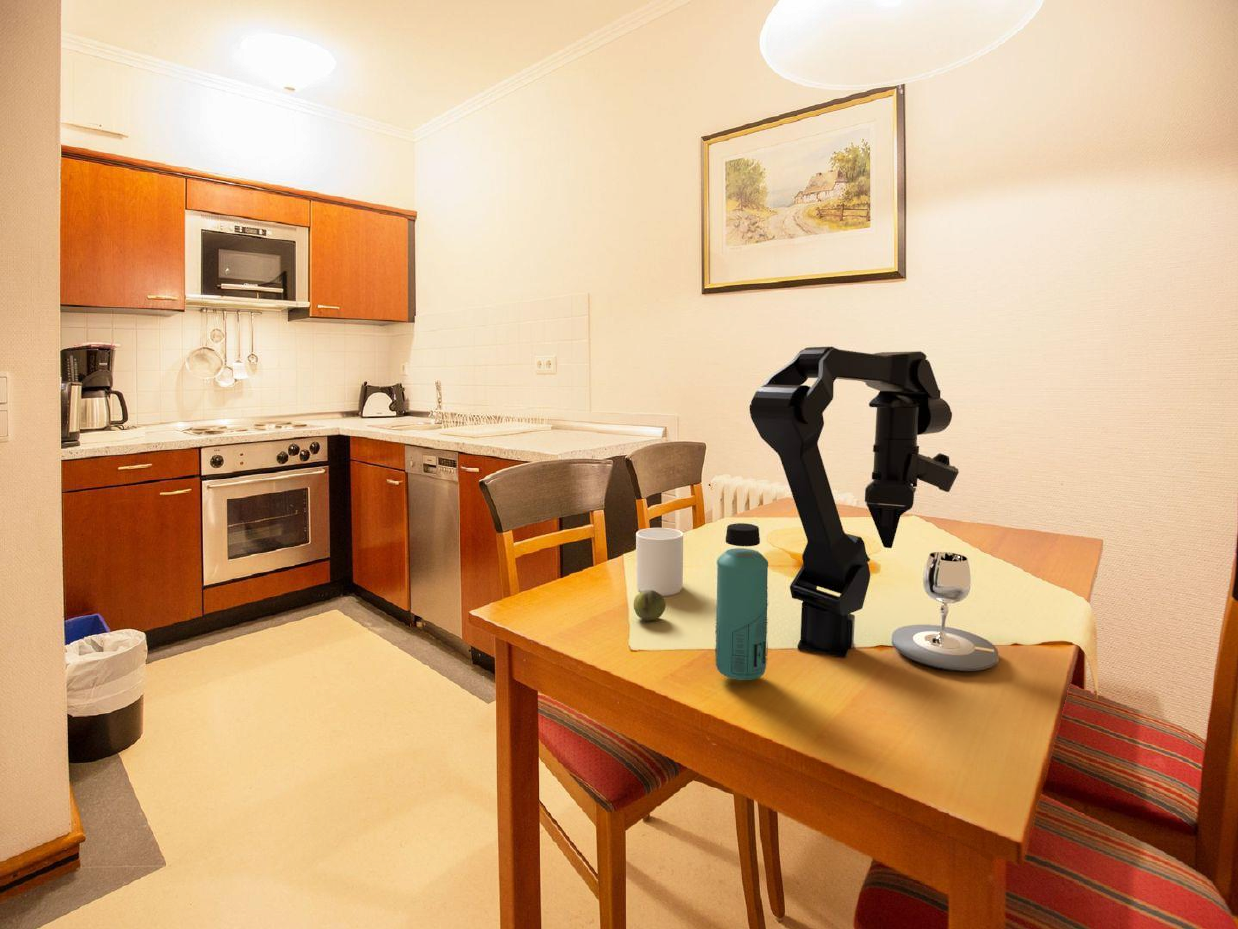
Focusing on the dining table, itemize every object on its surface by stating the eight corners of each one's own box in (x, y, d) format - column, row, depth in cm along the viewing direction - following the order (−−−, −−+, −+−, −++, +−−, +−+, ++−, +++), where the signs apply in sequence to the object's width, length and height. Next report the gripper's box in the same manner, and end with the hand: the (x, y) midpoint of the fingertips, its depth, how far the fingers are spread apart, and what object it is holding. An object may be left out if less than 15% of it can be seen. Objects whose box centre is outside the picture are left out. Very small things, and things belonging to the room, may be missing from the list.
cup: (634, 596, 112) (634, 538, 111) (639, 574, 124) (639, 522, 123) (682, 597, 111) (683, 540, 110) (682, 575, 123) (683, 523, 122)
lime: (629, 618, 102) (629, 588, 101) (655, 613, 104) (655, 583, 104) (644, 628, 98) (644, 596, 98) (670, 622, 101) (671, 591, 100)
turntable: (888, 658, 86) (888, 652, 86) (894, 624, 97) (895, 618, 97) (1002, 678, 80) (1002, 672, 80) (994, 639, 92) (994, 633, 92)
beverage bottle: (756, 697, 78) (760, 534, 75) (705, 683, 81) (707, 527, 78) (774, 675, 83) (778, 523, 80) (725, 663, 86) (728, 516, 84)
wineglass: (960, 654, 85) (967, 565, 83) (913, 642, 88) (919, 557, 87) (970, 640, 89) (977, 555, 87) (925, 629, 93) (931, 548, 91)
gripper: (958, 447, 84) (950, 563, 87) (955, 433, 101) (948, 531, 103) (867, 443, 89) (861, 553, 91) (878, 431, 106) (873, 524, 108)
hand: (890, 540), depth 98 cm, fingers open, 9 cm apart
